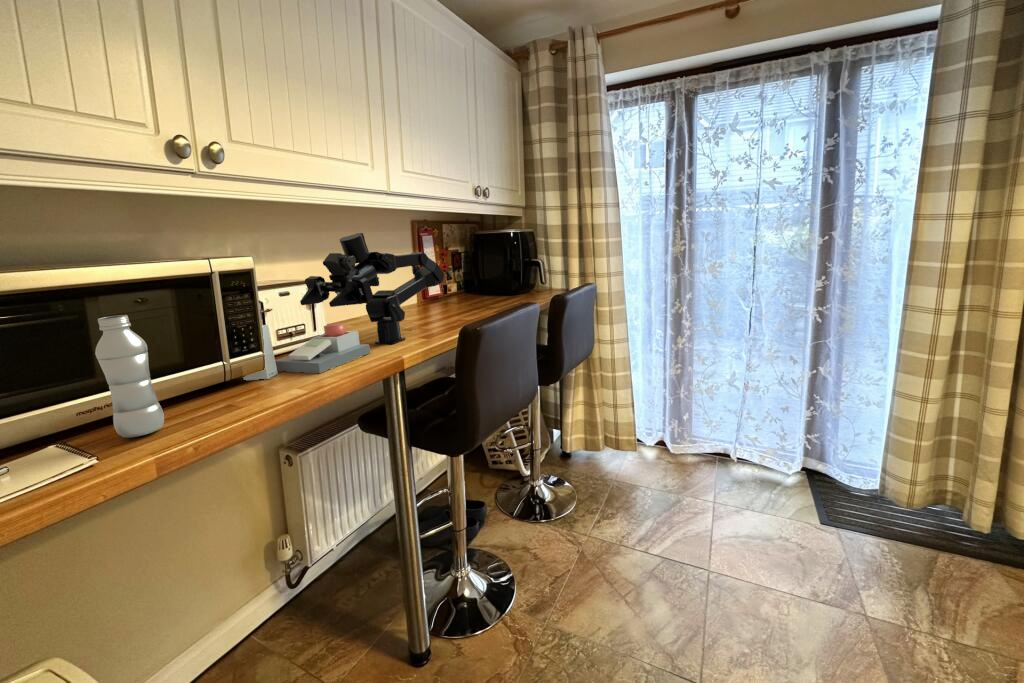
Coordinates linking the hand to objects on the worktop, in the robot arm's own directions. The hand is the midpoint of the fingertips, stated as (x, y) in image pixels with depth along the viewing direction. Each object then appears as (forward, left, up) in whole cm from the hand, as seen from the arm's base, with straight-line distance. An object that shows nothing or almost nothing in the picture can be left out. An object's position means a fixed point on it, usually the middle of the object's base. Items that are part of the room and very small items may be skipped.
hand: (315, 304), depth 113 cm
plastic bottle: (+41, -1, -15) cm, 44 cm away
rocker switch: (+1, -3, -11) cm, 11 cm away
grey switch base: (-3, -3, -15) cm, 16 cm away
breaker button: (-8, -3, -10) cm, 13 cm away
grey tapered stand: (+11, -9, -16) cm, 21 cm away
